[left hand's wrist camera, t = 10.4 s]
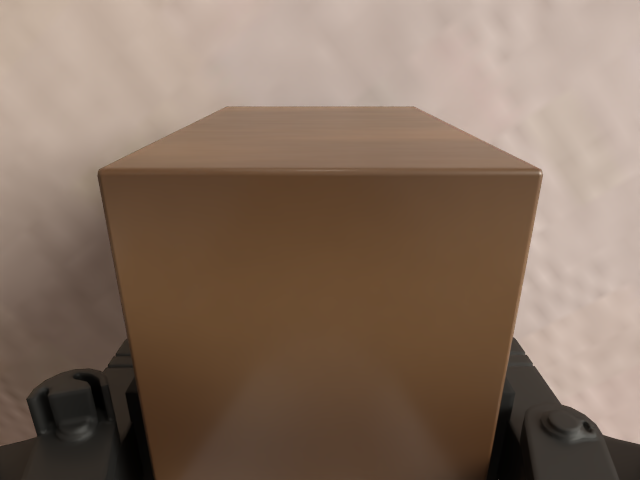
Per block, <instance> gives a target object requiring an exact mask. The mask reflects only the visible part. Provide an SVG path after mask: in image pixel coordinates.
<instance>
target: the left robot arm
mask: <svg viewBox="0 0 640 480" xmlns="http://www.w3.org/2000/svg"><path fill="white" fill-rule="evenodd" d="M27 403H28V406H29V409H30V413H31V416H32V419H33V423H34V426H35V429H36V432H37V437H35V438H32V439H29V440H26V441H21V442H17V443H13V444H8V445H4V446H0V480H154V477H153V472H152V466H151V461H150V456H149V450H148V445H147V439H146V434H145V429H144V423H143V418H142V412H141V407H140V402H139V396H138V391H137V386H136V380H135V375H134V369H133V364H132V359H131V353H130V348H129V342H128V339H126V340H125V341H124V343H123V344H122V346H121V347H120V348H119V350H118V351H117V353H116V356H114V357H113V359H112V360H111V361H110V363H109V364H108V368H106V369H105V370H104V372H103V373H102V372H101V371H98V370H93V369H75V370H71V371H67V372H64V373H60V374H58V375H56V376H54V377H52V378H49V379H47V380H45V381H44V382H43V383H41V384H40V385H39V386H37V387H36V388H35V389H34V390H33V391H32V392H31V394H30V395H29V396H28V398H27ZM498 479H499V480H640V444H635V443H631V442H627V441H623V440H618V439H614V438H611V437H608V436H604V435H602V433H601V431H600V430H599V428H598V427H597V425H596V424H595V423H594V422H593V421H591V420H590V419H589V418H588V417H587V416H586V415H584V414H582V413H580V412H579V411H577V410H575V409H573V408H571V407H568V406H564V405H561V403H560V402H559V400H558V399H557V398H556V396H555V395H554V393H553V392H552V390H551V389H550V388H549V386H548V385H547V383H546V382H545V380H544V379H543V378H542V376H541V375H540V373H539V372H538V370H537V369H536V368H535V366H533V363H532V362H531V360H530V359H529V357H528V356H527V355H525V352H524V350H523V349H522V347H521V346H520V345H519V343H518V342H517V340H516V339H515V338H513V339H512V344H511V349H510V355H509V360H508V366H507V371H506V376H505V382H504V387H503V393H502V398H501V403H500V409H499V414H498V420H497V425H496V430H495V436H494V441H493V446H492V452H491V457H490V463H489V468H488V473H487V479H486V480H498Z"/></svg>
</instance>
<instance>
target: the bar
mask: <svg viewBox="0 0 640 480" xmlns="http://www.w3.org/2000/svg"><path fill="white" fill-rule="evenodd" d="M542 177H543V174H542V170H541V169H539V168H537V167H535V166H533V165H531V164H529V163H527V162H525V161H523V160H521V159H519V158H517V157H515V156H513V155H511V154H509V153H507V152H505V151H503V150H501V149H499V148H497V147H495V146H493V145H491V144H489V143H486V142H484V141H482V140H480V139H478V138H476V137H474V136H472V135H470V134H468V133H466V132H464V131H462V130H460V129H458V128H456V127H454V126H452V125H450V124H448V123H446V122H444V121H442V120H440V119H438V118H436V117H434V116H432V115H430V114H428V113H426V112H424V111H422V110H420V109H418V108H416V107H225V108H223V109H221V110H219V111H217V112H215V113H213V114H211V115H209V116H207V117H205V118H203V119H201V120H199V121H197V122H195V123H192V124H190V125H188V126H186V127H184V128H182V129H180V130H178V131H176V132H174V133H172V134H170V135H168V136H166V137H164V138H162V139H160V140H158V141H156V142H154V143H152V144H150V145H148V146H146V147H144V148H142V149H140V150H138V151H136V152H134V153H132V154H130V155H128V156H125V157H123V158H121V159H119V160H117V161H115V162H113V163H111V164H109V165H107V166H105V167H103V168H101V169H99V171H98V181H99V186H100V191H101V197H102V202H103V208H104V213H105V218H106V224H107V229H108V235H109V240H110V245H111V251H112V256H113V262H114V267H115V272H116V278H117V283H118V288H119V294H120V299H121V305H122V310H123V315H124V321H125V326H126V332H127V337H128V342H129V348H130V353H131V359H132V364H133V369H134V375H135V380H136V386H137V391H138V396H139V402H140V407H141V412H142V418H143V423H144V429H145V434H146V439H147V445H148V450H149V456H150V461H151V466H152V472H153V477H154V480H486V479H487V473H488V468H489V463H490V457H491V452H492V446H493V441H494V436H495V430H496V425H497V420H498V414H499V409H500V403H501V398H502V393H503V387H504V382H505V376H506V371H507V366H508V360H509V355H510V349H511V344H512V339H513V333H514V328H515V323H516V317H517V312H518V306H519V301H520V296H521V290H522V285H523V279H524V274H525V269H526V263H527V258H528V252H529V247H530V242H531V236H532V231H533V226H534V220H535V215H536V209H537V204H538V199H539V193H540V188H541V182H542Z"/></svg>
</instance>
